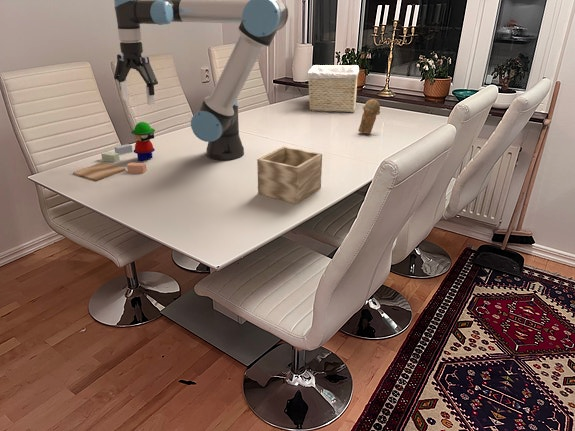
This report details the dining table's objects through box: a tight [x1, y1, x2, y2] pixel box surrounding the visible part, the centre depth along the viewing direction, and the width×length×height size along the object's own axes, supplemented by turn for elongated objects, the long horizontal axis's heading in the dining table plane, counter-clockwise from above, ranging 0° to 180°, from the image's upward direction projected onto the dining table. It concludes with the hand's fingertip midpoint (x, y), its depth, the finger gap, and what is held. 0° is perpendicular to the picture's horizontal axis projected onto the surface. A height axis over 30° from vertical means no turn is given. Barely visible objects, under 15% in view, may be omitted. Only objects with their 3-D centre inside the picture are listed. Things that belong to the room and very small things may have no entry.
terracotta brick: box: [126, 162, 148, 174], centre depth 175 cm, size 6×3×3 cm, turn 84°
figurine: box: [357, 98, 381, 135], centre depth 219 cm, size 8×8×15 cm
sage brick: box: [101, 151, 121, 163], centre depth 186 cm, size 6×3×3 cm, turn 65°
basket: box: [307, 64, 360, 113], centre depth 264 cm, size 27×27×22 cm
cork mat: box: [72, 162, 127, 182], centre depth 175 cm, size 13×13×1 cm
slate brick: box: [114, 143, 134, 156], centre depth 194 cm, size 6×3×3 cm, turn 135°
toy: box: [130, 121, 156, 162], centre depth 184 cm, size 9×9×15 cm
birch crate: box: [256, 146, 323, 205], centre depth 158 cm, size 15×16×12 cm
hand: (138, 101), depth 178 cm, fingers open, 13 cm apart
